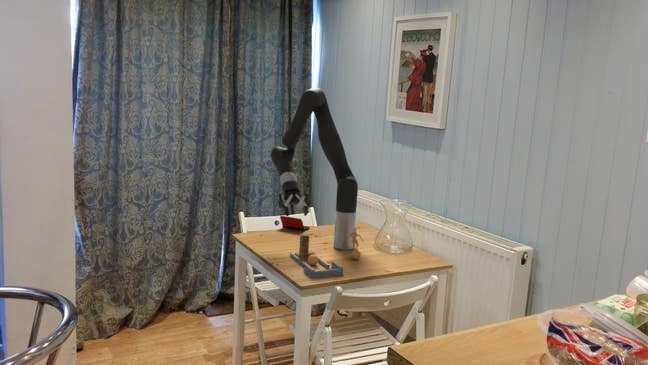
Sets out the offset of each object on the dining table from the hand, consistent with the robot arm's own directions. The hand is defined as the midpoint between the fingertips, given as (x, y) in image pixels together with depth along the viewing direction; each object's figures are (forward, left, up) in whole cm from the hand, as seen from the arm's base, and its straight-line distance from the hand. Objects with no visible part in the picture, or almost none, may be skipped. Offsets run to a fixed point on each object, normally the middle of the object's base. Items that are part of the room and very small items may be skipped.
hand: (297, 215), depth 249 cm
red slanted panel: (-14, -37, -17) cm, 43 cm away
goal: (0, +29, -17) cm, 34 cm away
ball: (0, +19, -14) cm, 24 cm away
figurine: (-21, +16, -17) cm, 31 cm away
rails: (0, +15, -17) cm, 22 cm away
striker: (0, +10, -16) cm, 19 cm away
